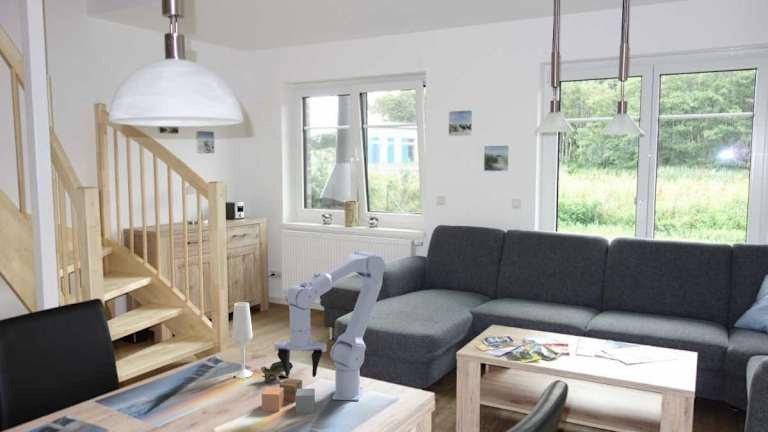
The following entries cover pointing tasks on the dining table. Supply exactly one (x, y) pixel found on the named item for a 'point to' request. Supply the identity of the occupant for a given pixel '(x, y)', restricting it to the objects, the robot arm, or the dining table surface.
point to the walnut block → (291, 388)
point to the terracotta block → (272, 399)
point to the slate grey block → (305, 400)
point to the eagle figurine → (274, 371)
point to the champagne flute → (242, 333)
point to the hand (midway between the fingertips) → (301, 375)
